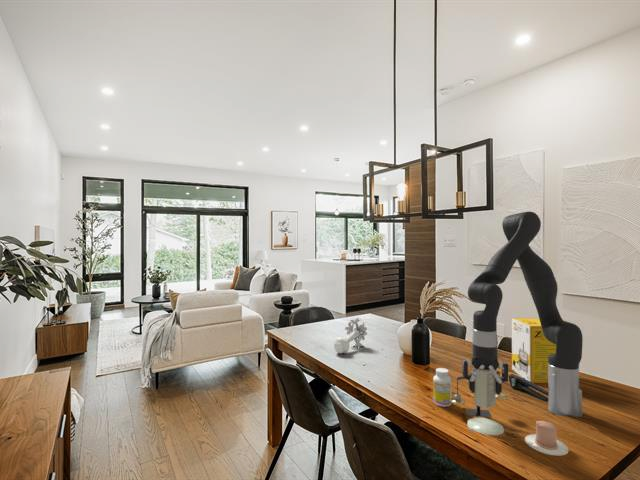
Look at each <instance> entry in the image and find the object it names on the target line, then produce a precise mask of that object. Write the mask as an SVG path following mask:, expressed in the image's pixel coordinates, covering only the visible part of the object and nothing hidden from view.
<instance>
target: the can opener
mask: <svg viewBox="0 0 640 480" xmlns="http://www.w3.org/2000/svg"><path fill="white" fill-rule="evenodd" d="M508 382H509V384H510V386H511V388H513V389H516V390H524V391H526V392H528V393H529V394H531V395H532V396H534V397H536V398H537V399H540V400H542V401H543V402H544V401H545V402H548V390H546V389H544V388H543V387H541V386H540V385H538V384H537V383H532V382H530V381H528V380H525V378H523V377H521V376H520V375H519V376H518V375H516V374H514V373H510V374H508ZM541 393H542V394H541ZM543 394H544V395H543ZM546 396H547V397H546Z"/></svg>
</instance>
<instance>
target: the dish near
mask: <svg viewBox="0 0 640 480" xmlns="http://www.w3.org/2000/svg"><path fill="white" fill-rule="evenodd" d="M535 438H536V433H533V434H531V433H530V434H528V435H525V438H524V441H525V443H526V444H527V445H528V446H529V447H530V448H532V449H534V450H536V451H537V452H540V453H542V454H546V455H549V456H560V457H561V456H565V455H567V454H568V453H569V448H568V446H567V445H566V444H565V443H564V442H562V441H561V440H559V439H557V445H558V448H557V449H556V450H548V449H544V448H542V447H540V446H538V445H537V444H536V443H535Z"/></svg>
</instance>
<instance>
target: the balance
mask: <svg viewBox="0 0 640 480" xmlns="http://www.w3.org/2000/svg"><path fill="white" fill-rule="evenodd" d="M496 373H497V374H498V376H499V377H501V376H500V375H501V373H500V371H496ZM459 380H466V379H465V378H464V377H463V375H462V376H457V377H456V393H453V397H452V398H451V399H450V402H452V404H454V405H458V406H462V405H463V406H464V405H465V404H466V401H465V400H464V399H463V398H461V397H462V396H461V395H462V394H460V393H459ZM507 399H508V395H507V394H506V393H503V392H501V393H500V395H498V394H496V400H507ZM464 410H465V412H466V414H467V416H472V417H481V418H493V415H492V414H491V413H490V410H487V409H481V407H479V406H477V405H475V408H473V409H472V408H464Z"/></svg>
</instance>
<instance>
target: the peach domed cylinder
mask: <svg viewBox="0 0 640 480" xmlns="http://www.w3.org/2000/svg"><path fill="white" fill-rule="evenodd" d="M557 433H558V431H557V426H556V425H555V424H553V422H549V421H546V420H537V421H535V434H536V438H535V443H536V444H537V445H538V446H540V447H542V448H544V449H548V450H556V449H557V448H558V445H557V440H558V437H557Z"/></svg>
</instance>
